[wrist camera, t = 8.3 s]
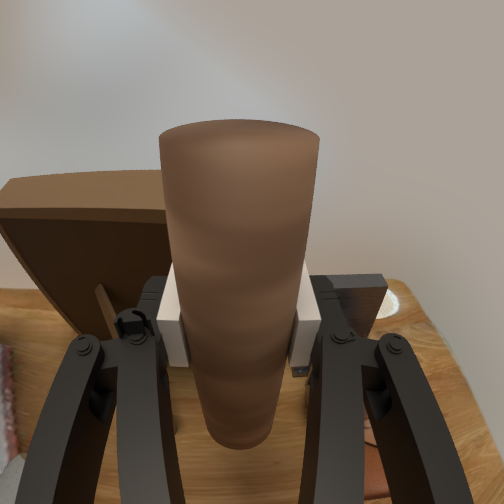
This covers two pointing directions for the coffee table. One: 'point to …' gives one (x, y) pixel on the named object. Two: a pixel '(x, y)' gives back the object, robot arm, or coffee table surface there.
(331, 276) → the bracket
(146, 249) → the photo frame
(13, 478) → the ceramic mug
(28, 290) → the coffee table surface
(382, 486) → the sunglasses case
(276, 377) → the brown wooden dowel
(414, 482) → the robot arm
